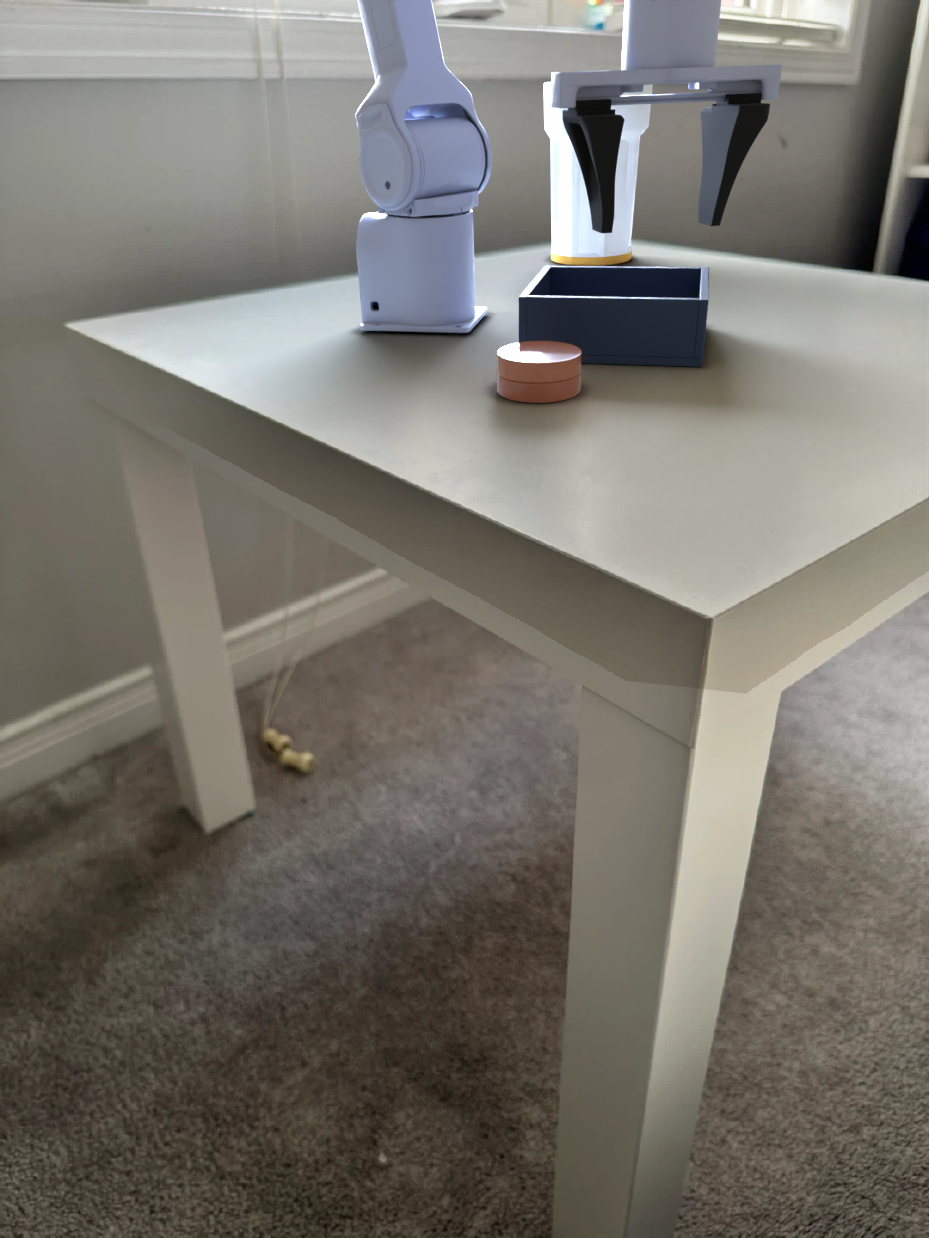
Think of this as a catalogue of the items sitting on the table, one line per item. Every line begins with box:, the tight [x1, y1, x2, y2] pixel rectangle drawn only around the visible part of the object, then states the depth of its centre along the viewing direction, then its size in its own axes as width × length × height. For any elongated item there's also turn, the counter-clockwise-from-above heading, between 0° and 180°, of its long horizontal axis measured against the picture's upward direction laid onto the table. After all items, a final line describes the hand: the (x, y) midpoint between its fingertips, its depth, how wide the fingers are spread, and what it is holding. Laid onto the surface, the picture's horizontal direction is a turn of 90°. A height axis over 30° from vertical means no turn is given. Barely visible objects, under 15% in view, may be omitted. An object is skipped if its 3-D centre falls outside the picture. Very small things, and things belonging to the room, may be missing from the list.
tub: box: [518, 265, 710, 368], centre depth 70 cm, size 13×12×5 cm
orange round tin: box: [496, 341, 583, 404], centre depth 60 cm, size 6×6×3 cm
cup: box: [543, 81, 654, 266], centre depth 99 cm, size 11×11×17 cm
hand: (656, 228), depth 61 cm, fingers open, 7 cm apart
